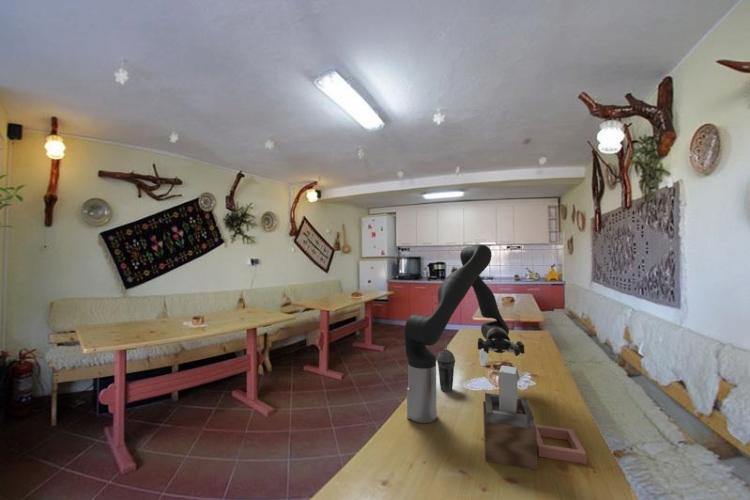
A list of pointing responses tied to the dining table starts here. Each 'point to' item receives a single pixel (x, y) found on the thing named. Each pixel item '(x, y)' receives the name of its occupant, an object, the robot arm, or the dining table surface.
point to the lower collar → (560, 453)
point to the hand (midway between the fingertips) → (502, 351)
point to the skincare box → (508, 389)
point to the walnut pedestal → (509, 434)
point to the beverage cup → (446, 369)
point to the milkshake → (483, 358)
